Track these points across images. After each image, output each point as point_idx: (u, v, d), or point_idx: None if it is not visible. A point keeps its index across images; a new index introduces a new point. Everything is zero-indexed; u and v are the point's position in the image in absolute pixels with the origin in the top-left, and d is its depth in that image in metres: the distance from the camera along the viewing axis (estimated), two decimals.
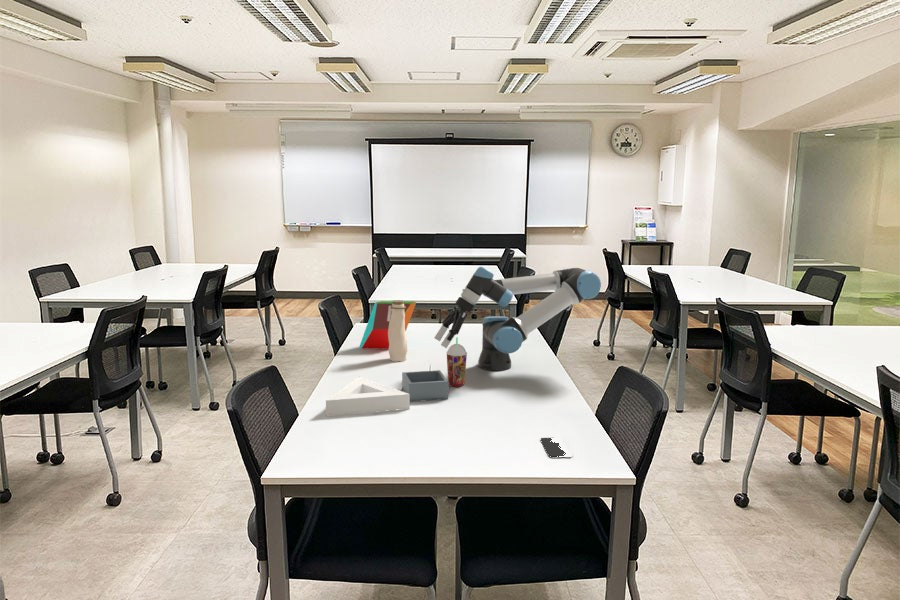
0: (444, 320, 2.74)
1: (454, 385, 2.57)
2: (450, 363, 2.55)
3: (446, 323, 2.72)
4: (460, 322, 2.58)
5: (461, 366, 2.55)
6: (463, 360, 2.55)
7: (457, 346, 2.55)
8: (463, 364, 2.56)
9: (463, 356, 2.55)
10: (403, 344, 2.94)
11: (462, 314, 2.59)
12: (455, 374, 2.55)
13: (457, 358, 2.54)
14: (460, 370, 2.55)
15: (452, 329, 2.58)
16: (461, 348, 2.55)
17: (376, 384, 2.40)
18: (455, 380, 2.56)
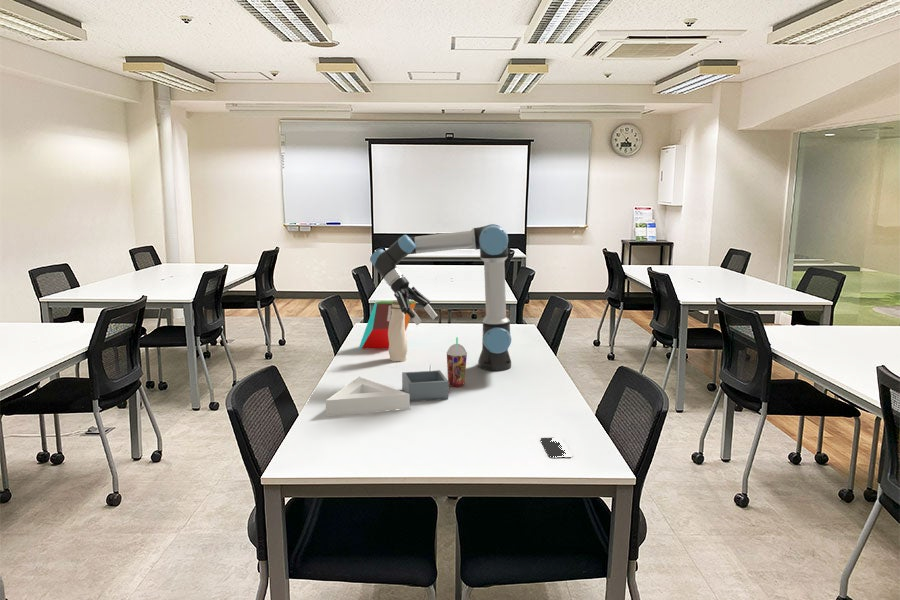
0: None
1: (454, 385, 2.57)
2: (450, 363, 2.55)
3: (422, 303, 2.70)
4: (400, 300, 2.58)
5: (461, 366, 2.55)
6: (463, 360, 2.55)
7: (457, 346, 2.55)
8: (463, 364, 2.56)
9: (463, 356, 2.55)
10: (403, 344, 2.94)
11: (395, 295, 2.60)
12: (455, 374, 2.55)
13: (457, 358, 2.54)
14: (460, 370, 2.55)
15: None
16: (461, 348, 2.55)
17: (376, 384, 2.40)
18: (455, 380, 2.56)
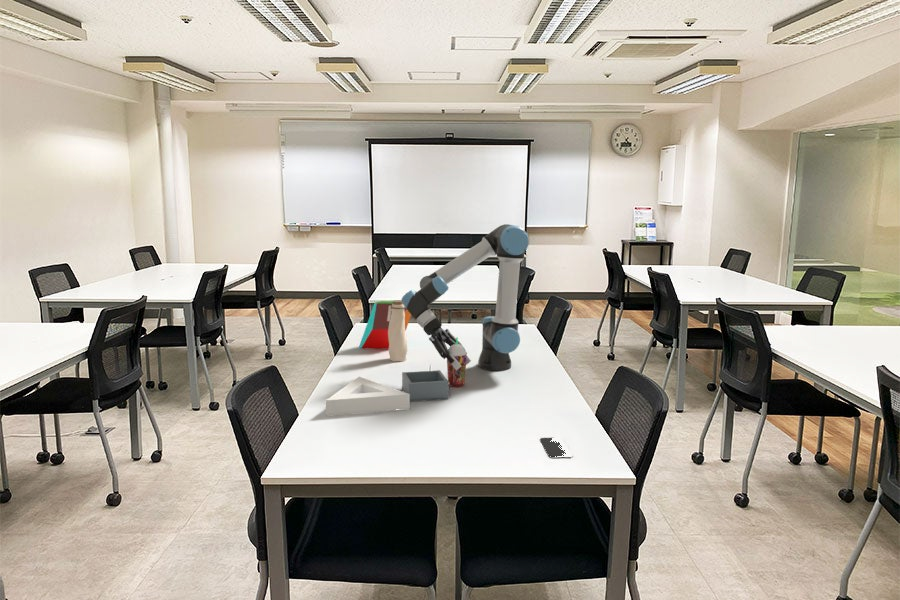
0: None
1: (454, 385, 2.57)
2: (450, 363, 2.55)
3: None
4: (437, 345, 2.53)
5: (461, 366, 2.55)
6: (463, 360, 2.55)
7: (457, 346, 2.55)
8: (463, 364, 2.56)
9: (463, 356, 2.55)
10: (403, 344, 2.94)
11: (431, 340, 2.54)
12: (455, 374, 2.55)
13: (457, 358, 2.54)
14: (460, 370, 2.55)
15: None
16: (461, 348, 2.55)
17: (376, 384, 2.41)
18: (455, 380, 2.56)
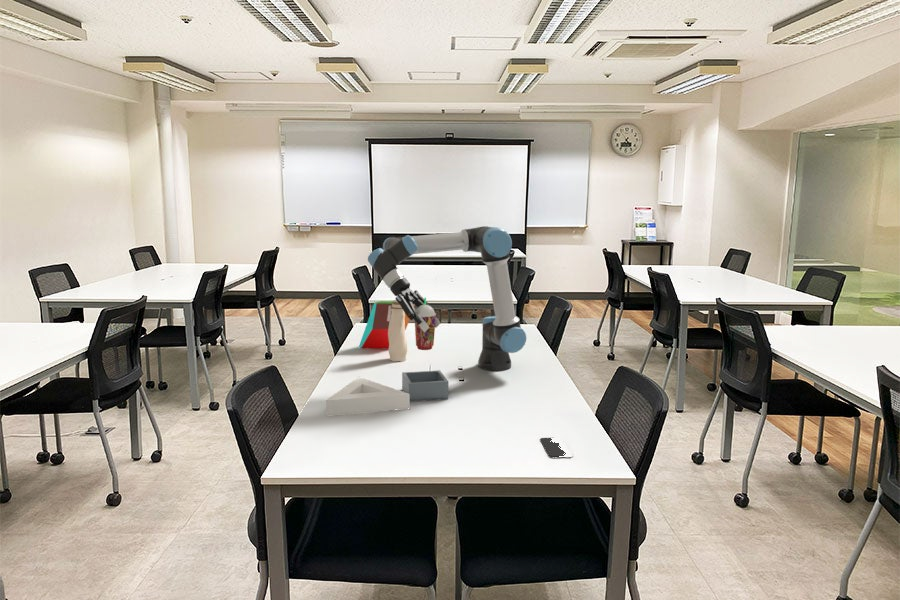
0: None
1: (422, 348, 2.42)
2: (418, 325, 2.40)
3: None
4: (403, 305, 2.38)
5: (429, 328, 2.40)
6: (431, 321, 2.40)
7: (425, 307, 2.40)
8: (431, 326, 2.41)
9: (431, 317, 2.40)
10: (403, 344, 2.94)
11: (397, 299, 2.39)
12: (423, 336, 2.40)
13: (425, 319, 2.39)
14: (428, 332, 2.40)
15: None
16: (429, 309, 2.40)
17: (376, 384, 2.41)
18: (423, 343, 2.41)
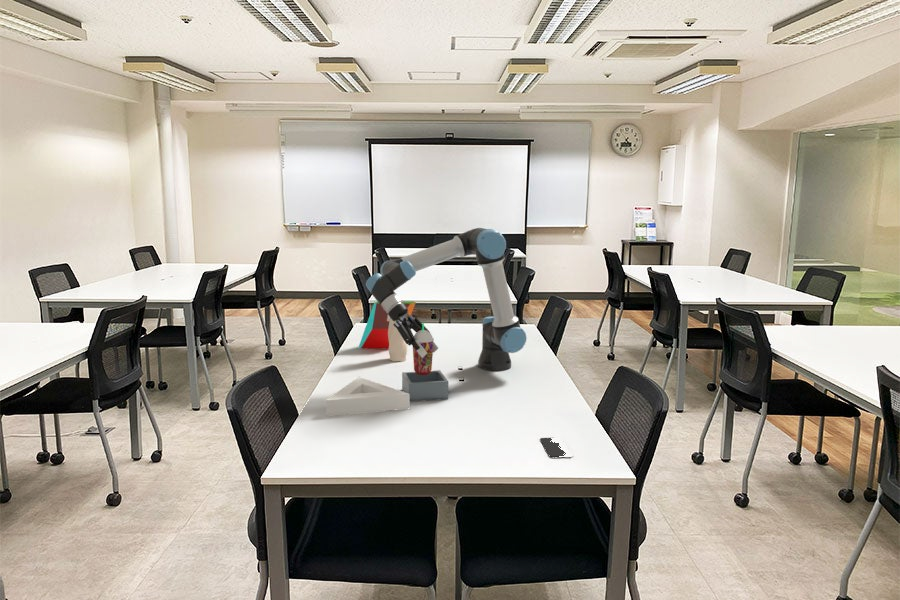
0: None
1: (420, 373, 2.43)
2: None
3: None
4: (401, 331, 2.39)
5: (427, 353, 2.42)
6: (429, 347, 2.41)
7: (423, 332, 2.42)
8: (429, 351, 2.42)
9: (429, 343, 2.41)
10: (403, 344, 2.94)
11: (395, 325, 2.41)
12: (421, 361, 2.42)
13: (423, 345, 2.40)
14: (426, 357, 2.42)
15: None
16: (427, 334, 2.41)
17: (376, 384, 2.41)
18: (421, 368, 2.42)
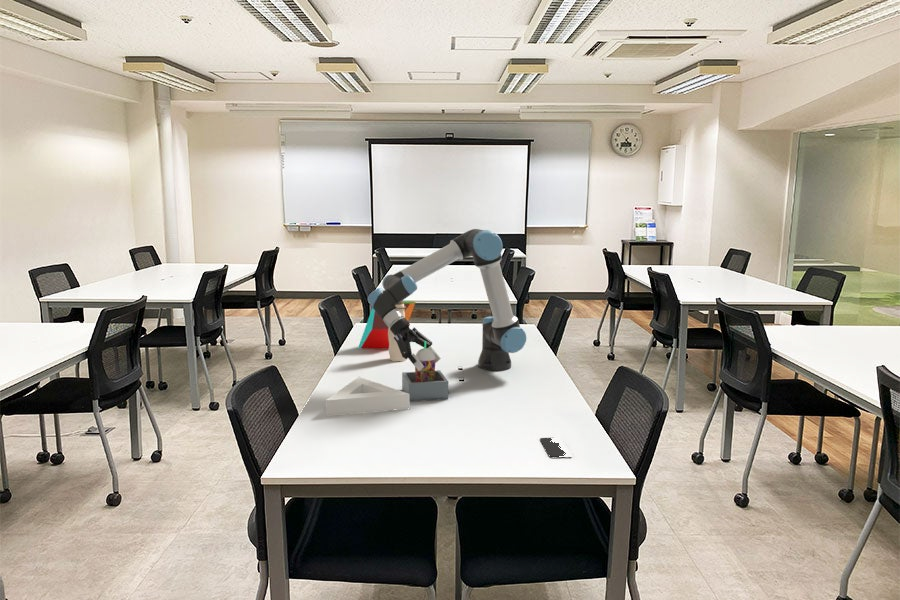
0: None
1: None
2: None
3: None
4: (400, 344, 2.40)
5: (429, 371, 2.43)
6: (431, 365, 2.43)
7: (425, 350, 2.43)
8: (431, 369, 2.44)
9: (431, 361, 2.43)
10: None
11: (395, 338, 2.42)
12: (423, 380, 2.43)
13: (425, 363, 2.42)
14: (428, 376, 2.43)
15: None
16: (429, 353, 2.43)
17: (376, 384, 2.41)
18: None
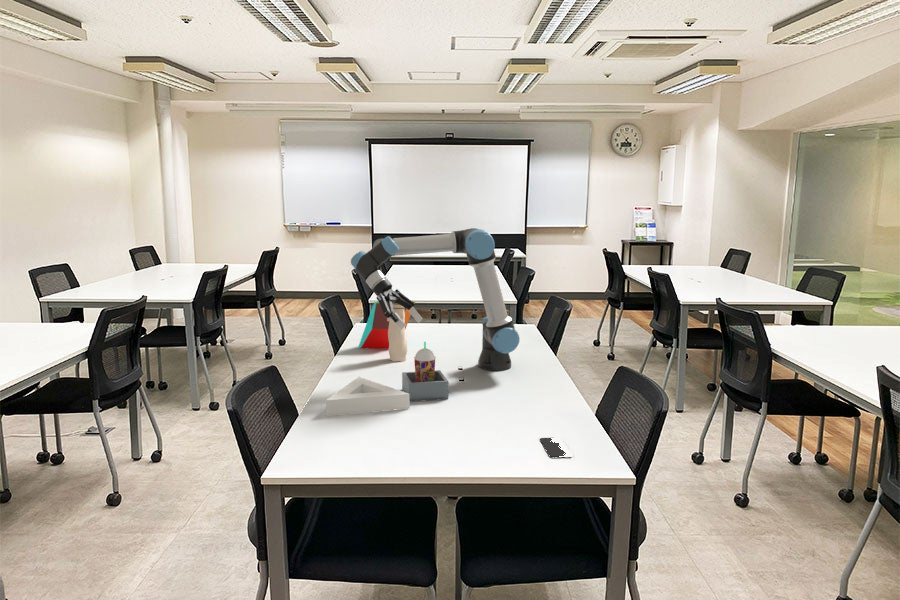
0: (407, 306, 2.61)
1: None
2: (418, 369, 2.43)
3: (406, 306, 2.58)
4: (382, 304, 2.46)
5: (429, 372, 2.43)
6: (431, 365, 2.43)
7: (425, 351, 2.43)
8: (431, 370, 2.44)
9: (431, 361, 2.43)
10: (403, 344, 2.94)
11: (378, 298, 2.48)
12: (423, 380, 2.43)
13: (425, 363, 2.42)
14: (428, 376, 2.43)
15: None
16: (429, 353, 2.43)
17: (376, 384, 2.41)
18: None
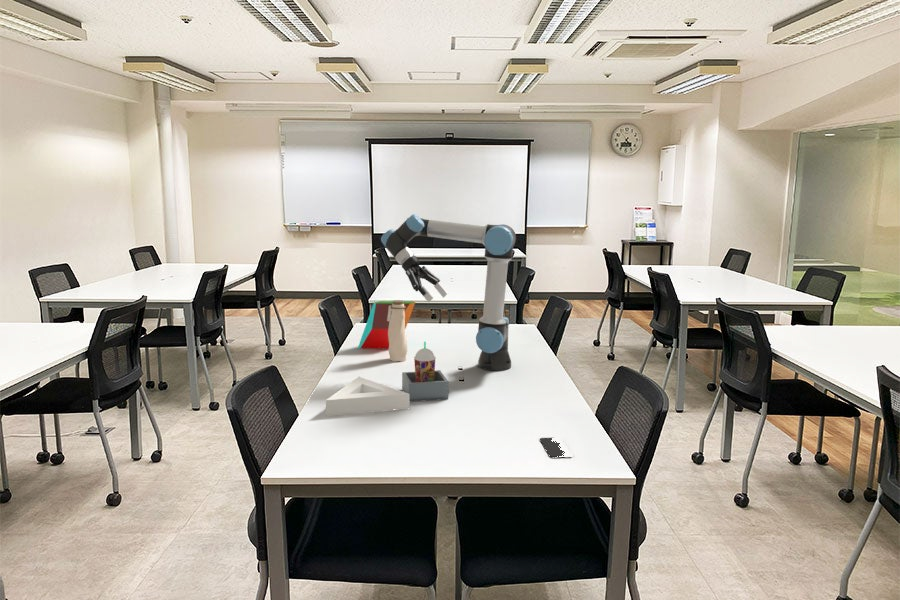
0: (433, 281, 2.79)
1: None
2: (418, 369, 2.43)
3: (432, 282, 2.76)
4: (411, 278, 2.64)
5: (429, 372, 2.43)
6: (431, 365, 2.43)
7: (425, 351, 2.43)
8: (431, 370, 2.44)
9: (431, 361, 2.43)
10: (403, 344, 2.94)
11: (407, 273, 2.66)
12: (423, 380, 2.43)
13: (425, 363, 2.42)
14: (428, 376, 2.43)
15: None
16: (429, 353, 2.43)
17: (376, 384, 2.41)
18: None
